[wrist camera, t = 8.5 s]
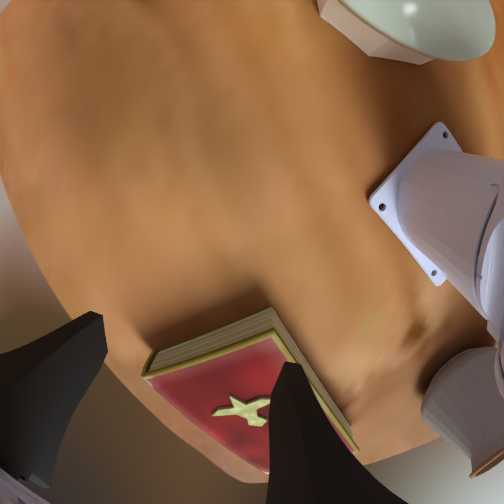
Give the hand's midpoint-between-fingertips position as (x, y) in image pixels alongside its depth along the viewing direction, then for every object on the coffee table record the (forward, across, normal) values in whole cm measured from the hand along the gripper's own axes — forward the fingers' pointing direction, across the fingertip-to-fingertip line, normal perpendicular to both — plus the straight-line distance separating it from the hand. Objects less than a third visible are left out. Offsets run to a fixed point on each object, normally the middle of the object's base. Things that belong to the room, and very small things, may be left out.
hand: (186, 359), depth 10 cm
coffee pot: (+10, -31, +6) cm, 33 cm away
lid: (+5, -6, -20) cm, 22 cm away
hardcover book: (+10, -6, +14) cm, 19 cm away
